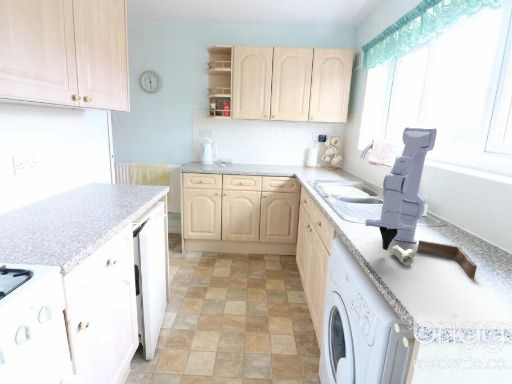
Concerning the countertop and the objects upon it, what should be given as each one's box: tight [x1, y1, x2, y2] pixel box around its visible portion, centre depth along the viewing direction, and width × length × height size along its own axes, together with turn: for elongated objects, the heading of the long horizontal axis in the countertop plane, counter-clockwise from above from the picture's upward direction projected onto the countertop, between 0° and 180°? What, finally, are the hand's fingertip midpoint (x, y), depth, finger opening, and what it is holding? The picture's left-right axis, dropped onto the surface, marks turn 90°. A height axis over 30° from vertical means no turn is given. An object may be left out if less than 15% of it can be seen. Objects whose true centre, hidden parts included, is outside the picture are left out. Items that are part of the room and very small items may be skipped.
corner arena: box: [416, 239, 478, 279], centre depth 94 cm, size 16×13×4 cm
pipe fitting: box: [390, 244, 416, 266], centre depth 95 cm, size 8×4×7 cm
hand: (384, 248), depth 97 cm, fingers closed
